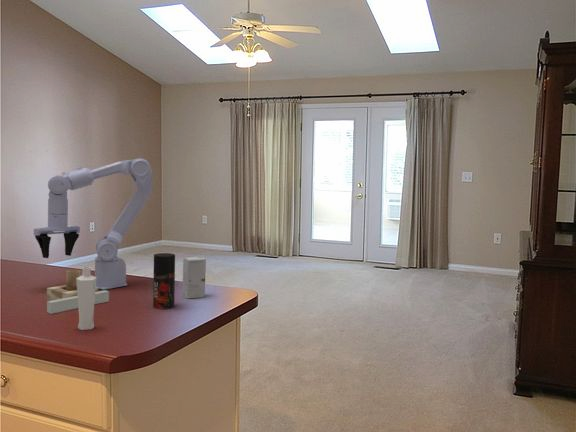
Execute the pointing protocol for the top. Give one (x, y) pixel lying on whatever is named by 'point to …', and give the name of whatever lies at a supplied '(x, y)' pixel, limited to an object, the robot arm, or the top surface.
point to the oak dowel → (72, 279)
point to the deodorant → (164, 281)
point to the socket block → (61, 293)
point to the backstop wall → (74, 302)
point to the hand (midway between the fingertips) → (57, 256)
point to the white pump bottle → (86, 298)
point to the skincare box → (194, 277)
